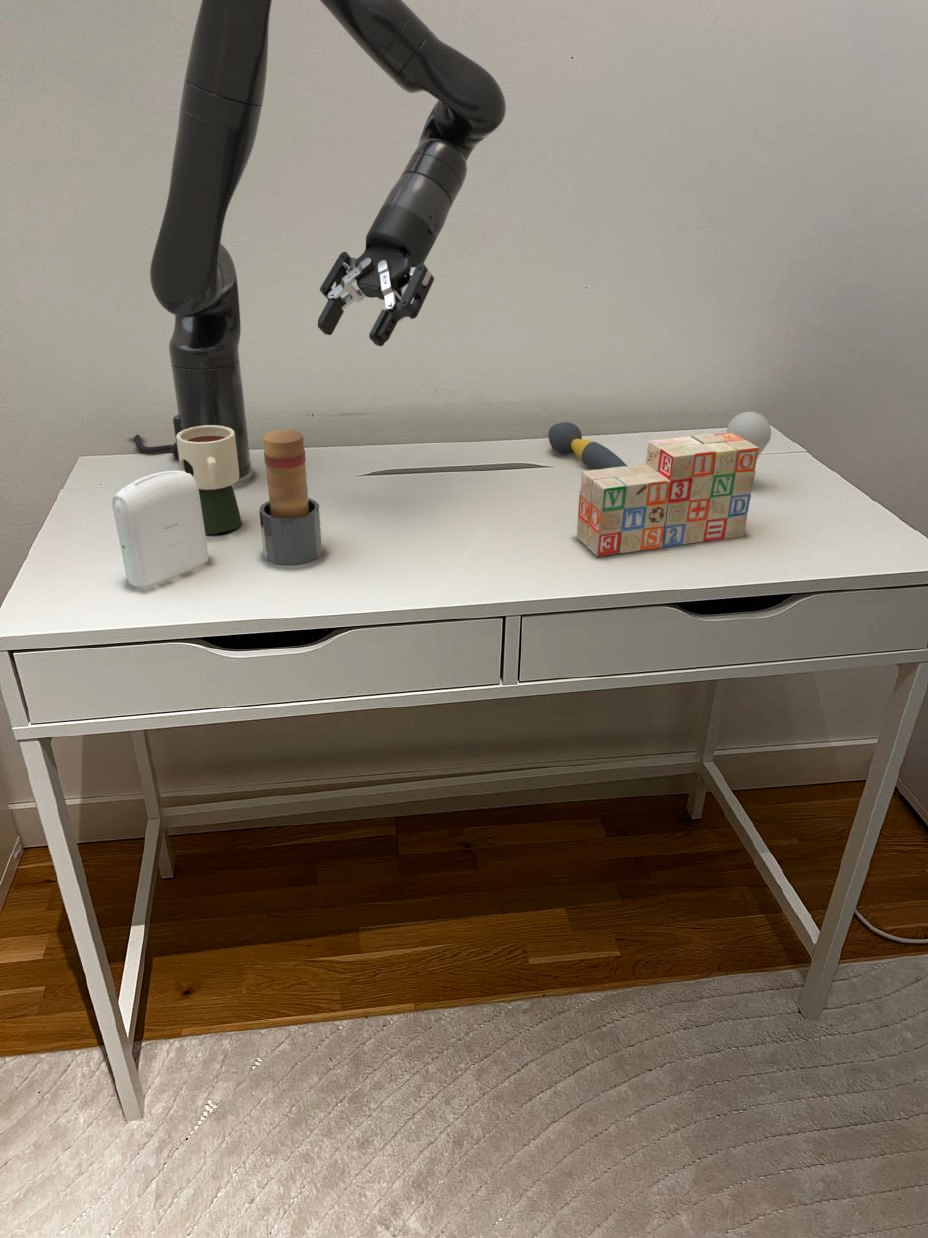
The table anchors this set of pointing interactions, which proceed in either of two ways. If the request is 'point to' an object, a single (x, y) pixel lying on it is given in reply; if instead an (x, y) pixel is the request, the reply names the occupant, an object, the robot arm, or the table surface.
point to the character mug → (212, 473)
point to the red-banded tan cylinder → (286, 473)
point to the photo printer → (160, 527)
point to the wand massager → (581, 447)
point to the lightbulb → (751, 429)
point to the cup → (291, 536)
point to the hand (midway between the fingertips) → (348, 336)
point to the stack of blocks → (669, 495)
